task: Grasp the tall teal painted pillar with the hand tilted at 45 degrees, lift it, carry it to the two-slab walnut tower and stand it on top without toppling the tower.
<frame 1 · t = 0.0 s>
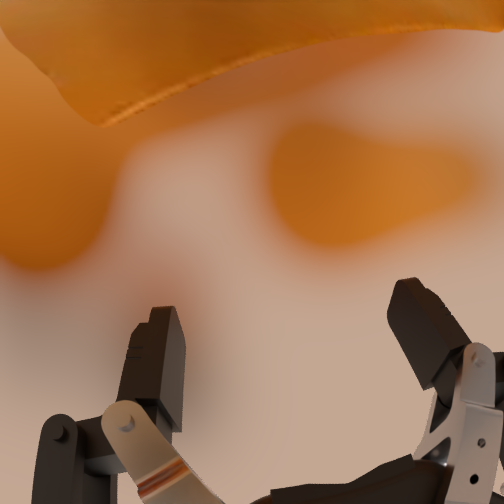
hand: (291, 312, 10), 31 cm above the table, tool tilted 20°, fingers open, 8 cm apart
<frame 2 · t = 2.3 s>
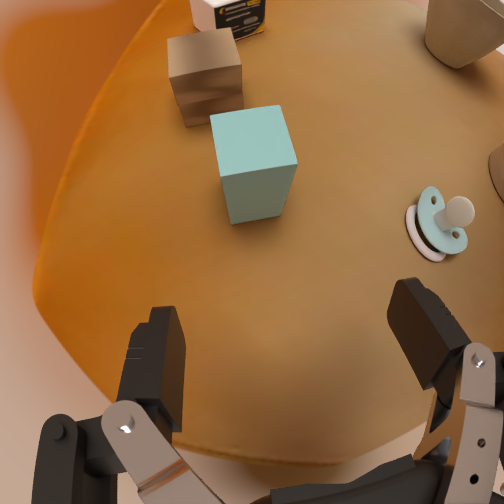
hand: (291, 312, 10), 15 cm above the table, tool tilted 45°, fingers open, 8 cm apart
pillar: (251, 196, 27), on the table
medicine bottle: (228, 28, 31), on the table
pacifier: (428, 230, 27), on the table
plant pot: (442, 53, 32), on the table
tower upper slab: (206, 78, 25), point 4 cm above the table, touching tower base slab
tower base slab: (211, 101, 29), on the table, touching tower upper slab
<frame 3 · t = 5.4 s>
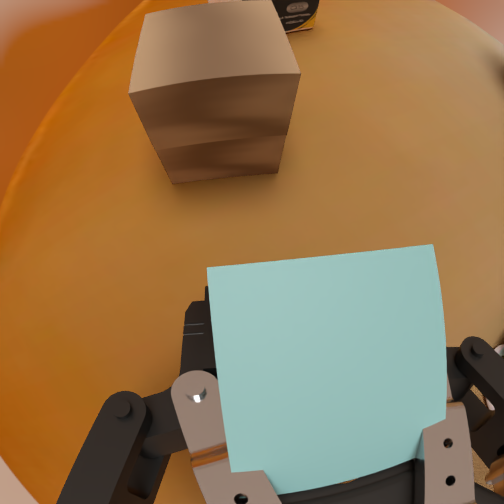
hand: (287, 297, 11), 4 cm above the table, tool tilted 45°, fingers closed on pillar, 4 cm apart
pillar: (280, 339, 14), on the table, touching gripper
medicine bottle: (259, 19, 20), on the table
pacifier: (503, 374, 14), on the table
tower upper slab: (216, 94, 13), point 4 cm above the table, touching tower base slab
tower base slab: (221, 136, 17), on the table, touching tower upper slab
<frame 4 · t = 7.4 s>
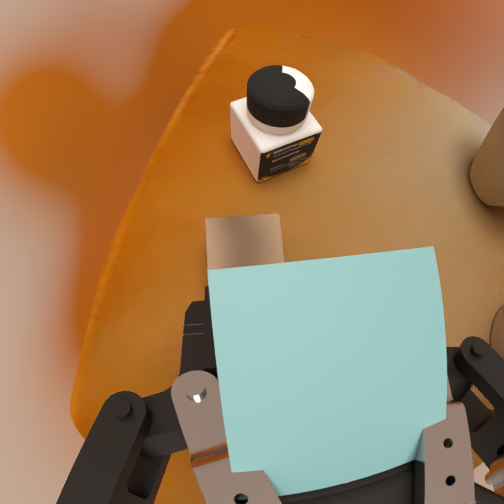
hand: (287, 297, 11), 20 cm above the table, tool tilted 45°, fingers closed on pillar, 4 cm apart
pillar: (280, 340, 14), point 16 cm above the table, touching gripper
medicine bottle: (269, 150, 34), on the table
plant pot: (483, 184, 35), on the table
tower upper slab: (244, 261, 27), point 4 cm above the table, touching tower base slab
when the fingers open (13 cm above the table, at t = 9.8 s): pillar drops 1 cm, resting on tower upper slab.
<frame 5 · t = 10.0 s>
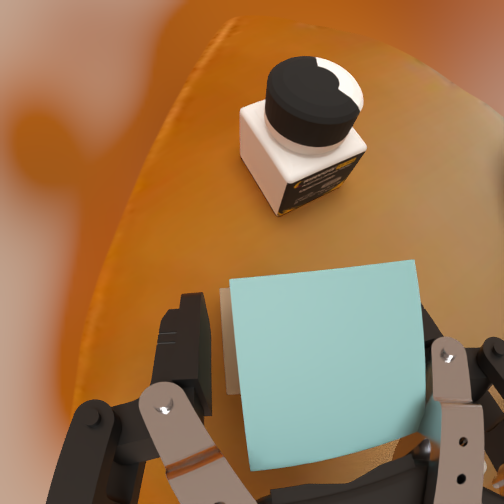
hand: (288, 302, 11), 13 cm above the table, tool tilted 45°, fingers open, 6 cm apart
pillar: (280, 338, 16), point 8 cm above the table, touching tower upper slab
medicine bottle: (290, 171, 27), on the table
tower upper slab: (271, 334, 20), point 4 cm above the table, touching pillar
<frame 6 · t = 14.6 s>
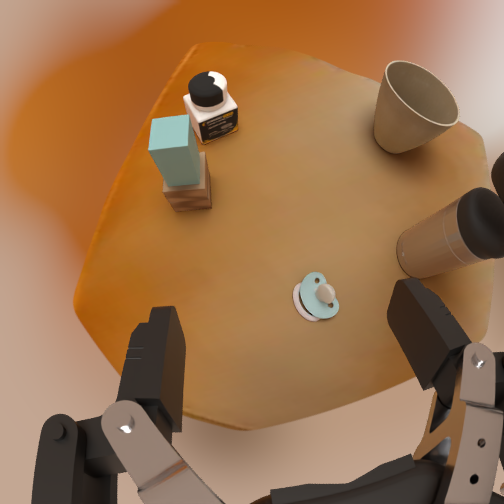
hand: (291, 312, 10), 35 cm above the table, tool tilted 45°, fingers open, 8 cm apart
pillar: (184, 171, 40), point 8 cm above the table, touching tower upper slab
medicine bottle: (212, 125, 51), on the table
pacifier: (312, 299, 45), on the table
plant pot: (389, 138, 52), on the table
tower upper slab: (188, 183, 44), point 4 cm above the table, touching pillar, tower base slab
tower base slab: (192, 193, 48), on the table, touching tower upper slab
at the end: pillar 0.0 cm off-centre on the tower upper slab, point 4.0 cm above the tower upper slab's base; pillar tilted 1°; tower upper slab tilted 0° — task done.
